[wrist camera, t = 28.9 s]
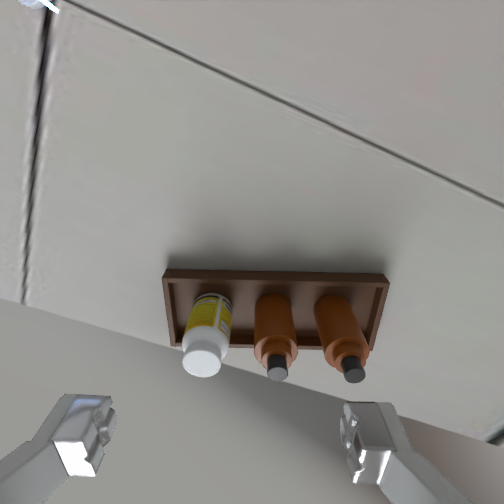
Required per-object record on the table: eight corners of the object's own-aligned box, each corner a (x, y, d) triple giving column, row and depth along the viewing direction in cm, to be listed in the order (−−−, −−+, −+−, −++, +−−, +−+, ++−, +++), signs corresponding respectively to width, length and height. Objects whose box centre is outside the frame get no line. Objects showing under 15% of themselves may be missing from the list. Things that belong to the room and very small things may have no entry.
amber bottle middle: (254, 322, 48) (253, 390, 36) (254, 292, 45) (254, 356, 34) (289, 323, 48) (299, 391, 36) (292, 293, 45) (304, 357, 34)
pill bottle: (186, 314, 47) (167, 370, 37) (203, 285, 45) (187, 337, 35) (222, 329, 48) (213, 388, 38) (240, 301, 46) (235, 357, 36)
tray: (174, 335, 50) (171, 346, 48) (166, 269, 44) (161, 277, 42) (367, 339, 50) (372, 351, 47) (383, 273, 44) (390, 282, 42)
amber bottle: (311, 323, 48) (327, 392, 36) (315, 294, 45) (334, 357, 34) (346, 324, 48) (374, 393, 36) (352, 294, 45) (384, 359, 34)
